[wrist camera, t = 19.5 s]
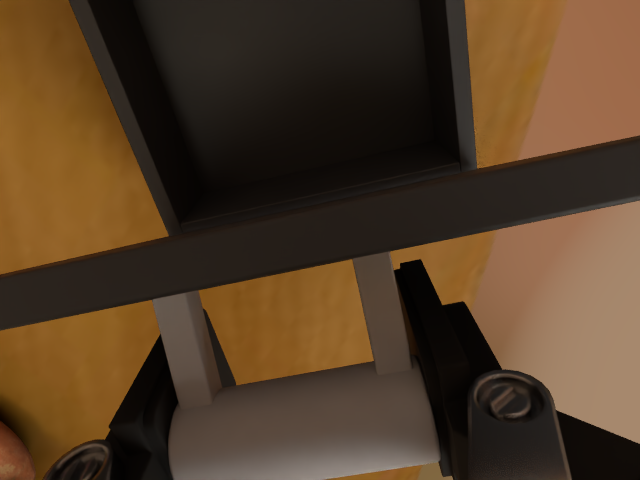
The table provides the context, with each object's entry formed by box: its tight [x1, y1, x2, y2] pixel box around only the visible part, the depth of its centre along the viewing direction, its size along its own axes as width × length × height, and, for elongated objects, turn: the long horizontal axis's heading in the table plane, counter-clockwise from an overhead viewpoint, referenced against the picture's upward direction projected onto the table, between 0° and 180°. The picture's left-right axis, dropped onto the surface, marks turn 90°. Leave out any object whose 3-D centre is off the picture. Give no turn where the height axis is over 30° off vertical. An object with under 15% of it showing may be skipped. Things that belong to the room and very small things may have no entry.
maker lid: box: [0, 136, 640, 480], centre depth 14 cm, size 15×16×5 cm
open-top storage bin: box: [69, 0, 477, 236], centre depth 21 cm, size 15×16×6 cm
